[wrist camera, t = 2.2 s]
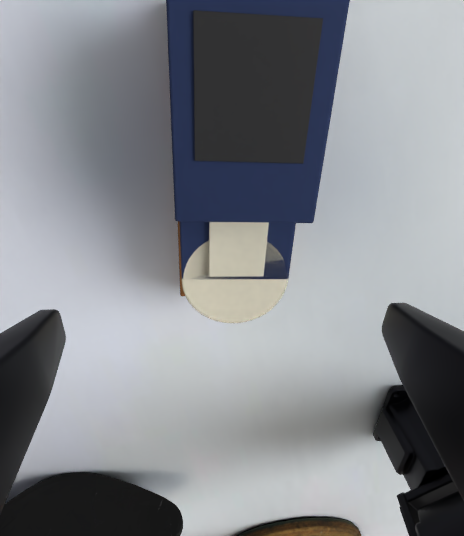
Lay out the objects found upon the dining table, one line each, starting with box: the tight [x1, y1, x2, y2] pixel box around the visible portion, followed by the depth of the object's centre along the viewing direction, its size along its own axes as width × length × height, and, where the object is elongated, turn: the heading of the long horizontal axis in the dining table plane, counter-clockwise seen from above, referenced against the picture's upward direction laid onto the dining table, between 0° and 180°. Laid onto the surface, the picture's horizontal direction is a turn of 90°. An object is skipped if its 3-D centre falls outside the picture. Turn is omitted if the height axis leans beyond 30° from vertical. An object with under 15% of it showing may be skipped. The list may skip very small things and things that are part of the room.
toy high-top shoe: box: [166, 0, 350, 323], centre depth 16 cm, size 15×6×7 cm, turn 178°
